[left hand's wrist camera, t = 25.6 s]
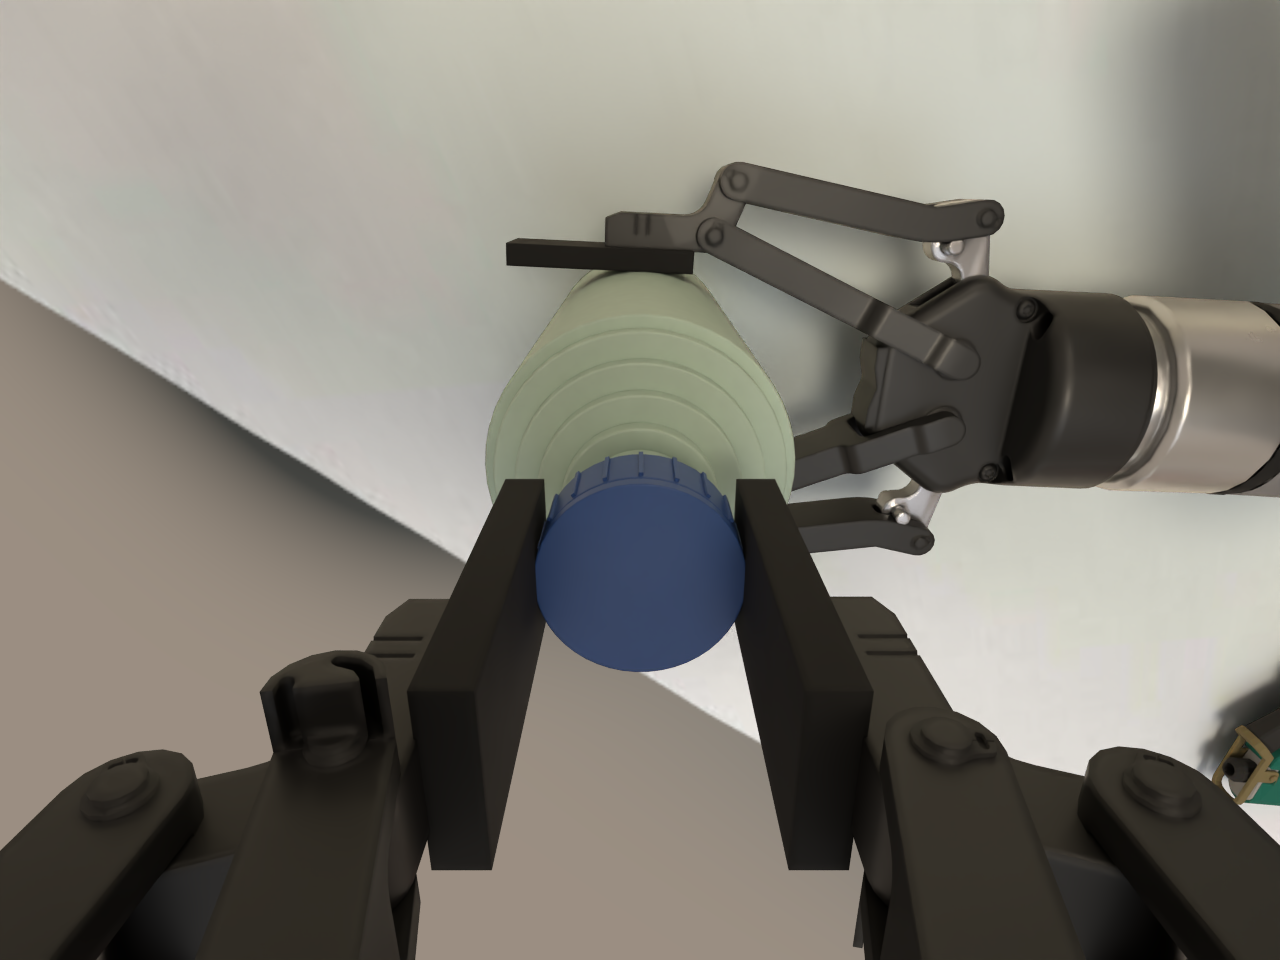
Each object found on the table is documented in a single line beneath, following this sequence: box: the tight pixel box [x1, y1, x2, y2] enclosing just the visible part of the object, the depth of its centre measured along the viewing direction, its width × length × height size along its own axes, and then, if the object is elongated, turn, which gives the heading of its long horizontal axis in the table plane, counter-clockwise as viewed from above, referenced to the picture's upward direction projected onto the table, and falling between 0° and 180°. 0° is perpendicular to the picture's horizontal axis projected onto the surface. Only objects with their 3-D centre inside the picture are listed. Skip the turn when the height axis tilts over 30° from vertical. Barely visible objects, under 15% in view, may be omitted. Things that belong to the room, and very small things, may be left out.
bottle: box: [485, 270, 795, 520], centre depth 24 cm, size 8×8×22 cm
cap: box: [535, 452, 745, 672], centre depth 14 cm, size 4×4×2 cm
